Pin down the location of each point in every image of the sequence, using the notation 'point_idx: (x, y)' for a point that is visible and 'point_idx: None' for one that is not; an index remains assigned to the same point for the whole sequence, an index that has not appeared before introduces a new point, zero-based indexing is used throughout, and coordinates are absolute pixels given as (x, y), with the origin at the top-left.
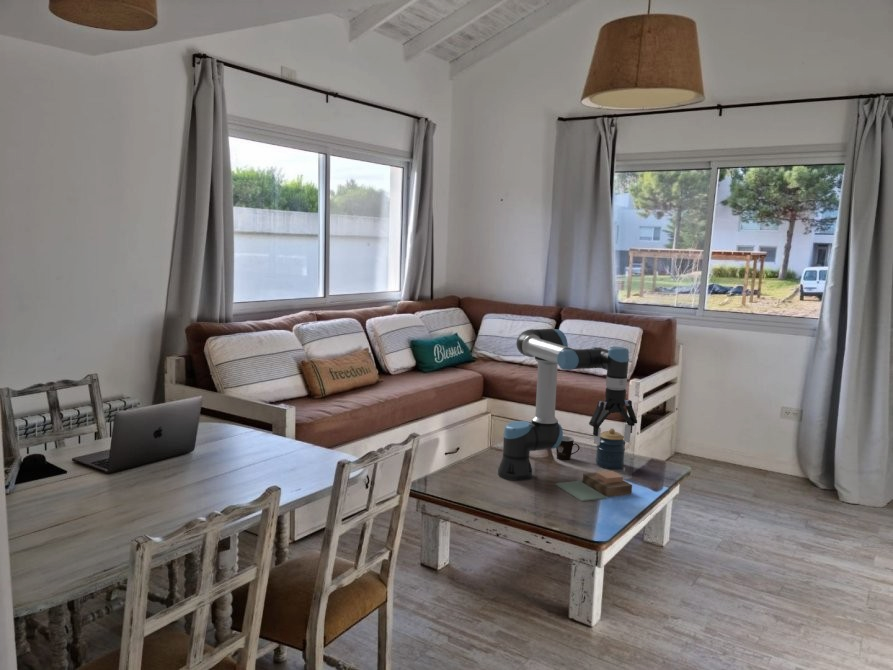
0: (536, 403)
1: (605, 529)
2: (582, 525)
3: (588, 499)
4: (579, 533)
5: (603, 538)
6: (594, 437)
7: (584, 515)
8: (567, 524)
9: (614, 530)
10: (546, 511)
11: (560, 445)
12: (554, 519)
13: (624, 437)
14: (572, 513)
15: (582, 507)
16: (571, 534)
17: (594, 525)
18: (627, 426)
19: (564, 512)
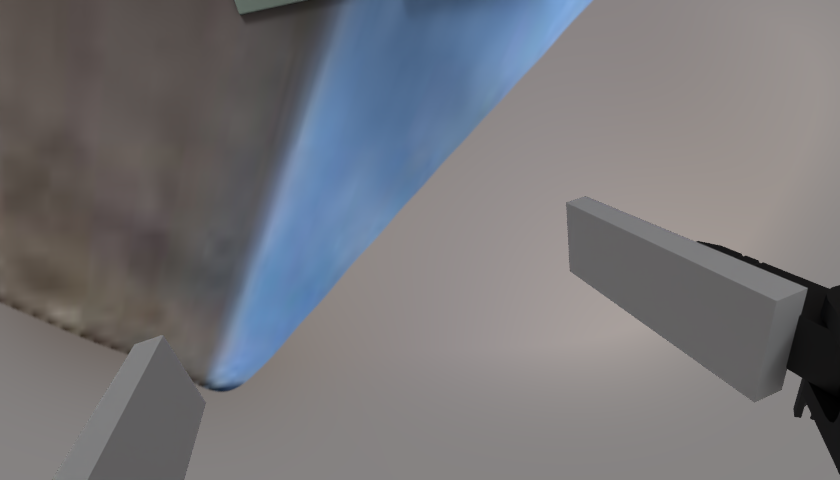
0: None
1: (276, 306)
2: (192, 281)
3: (280, 5)
4: None
5: (250, 368)
6: (101, 407)
7: (220, 187)
8: (125, 276)
9: (307, 310)
10: (17, 139)
11: None
12: (63, 231)
13: (592, 220)
14: (164, 165)
15: (229, 95)
16: None
17: (242, 277)
18: (739, 349)
19: (123, 153)
